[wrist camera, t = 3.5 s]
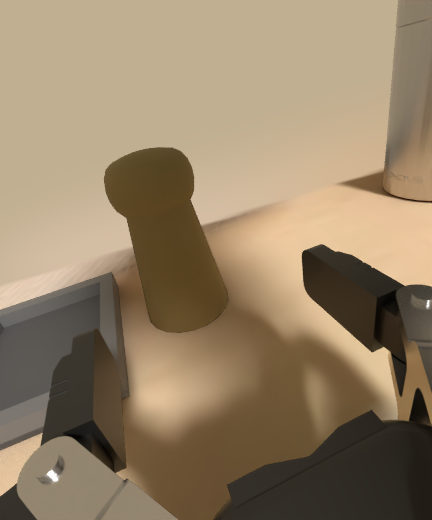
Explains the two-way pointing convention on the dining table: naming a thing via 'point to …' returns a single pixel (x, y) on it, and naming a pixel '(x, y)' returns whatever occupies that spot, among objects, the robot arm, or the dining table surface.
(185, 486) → the dining table surface
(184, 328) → the cork
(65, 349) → the shallow grey tray
